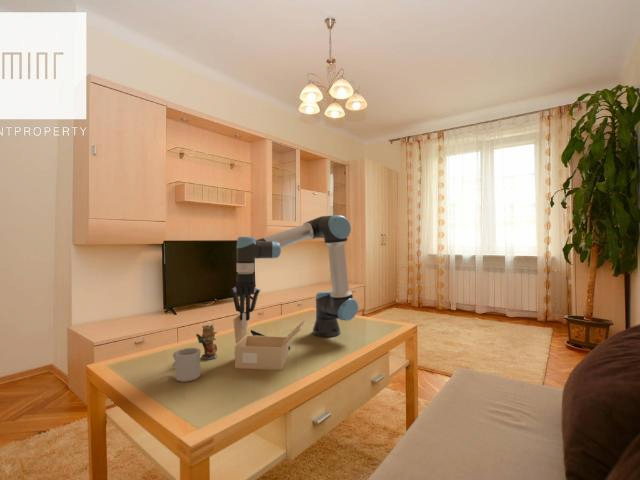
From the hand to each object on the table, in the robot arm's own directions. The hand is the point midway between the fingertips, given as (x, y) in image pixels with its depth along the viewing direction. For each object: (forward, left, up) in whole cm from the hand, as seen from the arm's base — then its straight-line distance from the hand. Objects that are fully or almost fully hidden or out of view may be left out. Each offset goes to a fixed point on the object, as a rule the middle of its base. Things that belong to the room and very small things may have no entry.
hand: (244, 327), depth 143 cm
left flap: (0, -1, -5) cm, 5 cm away
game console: (-18, +7, -15) cm, 24 cm away
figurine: (-3, -18, -15) cm, 24 cm away
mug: (+17, -18, -15) cm, 29 cm away
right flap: (0, +17, -5) cm, 18 cm away
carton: (0, +8, -15) cm, 17 cm away
